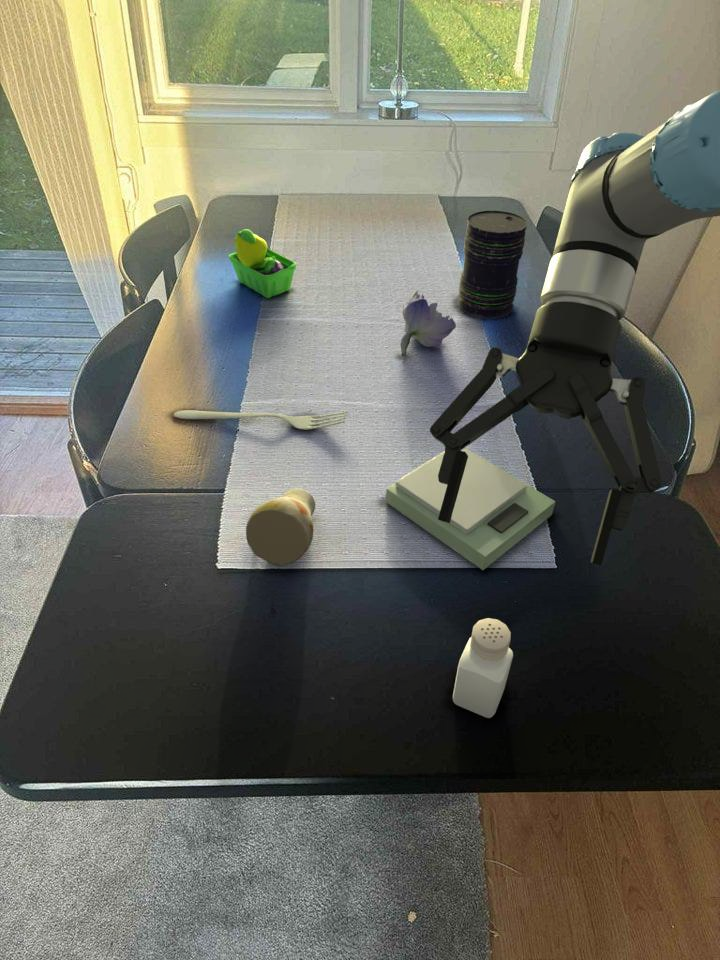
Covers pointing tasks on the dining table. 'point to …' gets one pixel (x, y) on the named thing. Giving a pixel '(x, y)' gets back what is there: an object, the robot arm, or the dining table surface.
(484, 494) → the scale
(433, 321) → the flower
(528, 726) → the dining table surface
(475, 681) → the pepper shaker
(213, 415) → the fork
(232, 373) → the dining table surface
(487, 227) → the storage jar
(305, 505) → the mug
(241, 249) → the fruit basket
